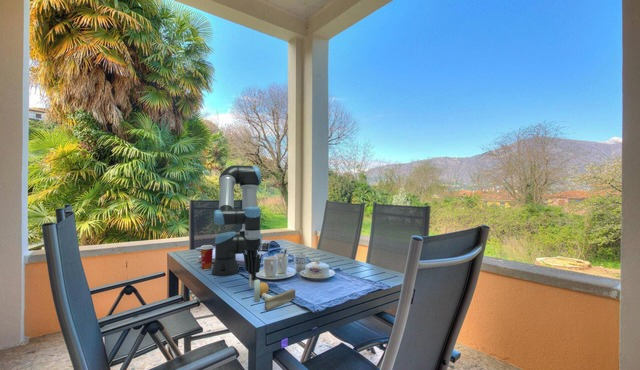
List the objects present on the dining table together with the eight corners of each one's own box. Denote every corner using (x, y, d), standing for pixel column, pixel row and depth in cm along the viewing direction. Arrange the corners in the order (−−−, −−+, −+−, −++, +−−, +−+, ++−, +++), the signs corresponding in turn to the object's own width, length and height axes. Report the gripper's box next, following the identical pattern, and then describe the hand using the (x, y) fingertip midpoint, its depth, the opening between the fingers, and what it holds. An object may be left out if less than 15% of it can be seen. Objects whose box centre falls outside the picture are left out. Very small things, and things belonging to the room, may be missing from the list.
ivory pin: (263, 299, 129) (276, 305, 123) (260, 296, 128) (273, 301, 122) (266, 295, 130) (279, 300, 124) (264, 291, 129) (276, 296, 123)
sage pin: (253, 300, 125) (253, 280, 125) (257, 299, 127) (257, 279, 127) (256, 302, 124) (256, 281, 124) (260, 300, 126) (261, 280, 126)
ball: (262, 291, 127) (259, 300, 130) (272, 286, 131) (269, 295, 134) (254, 282, 130) (252, 291, 133) (265, 277, 134) (262, 286, 137)
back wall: (264, 309, 117) (264, 299, 117) (292, 297, 129) (292, 289, 129) (267, 310, 116) (267, 300, 116) (295, 298, 128) (295, 290, 128)
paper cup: (199, 267, 177) (200, 245, 177) (213, 266, 180) (213, 244, 180) (199, 270, 170) (200, 247, 170) (213, 269, 173) (213, 246, 173)
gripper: (238, 237, 140) (237, 285, 139) (254, 241, 131) (254, 291, 131) (250, 235, 145) (250, 281, 145) (267, 238, 137) (266, 287, 137)
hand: (252, 286), depth 138 cm, fingers closed
